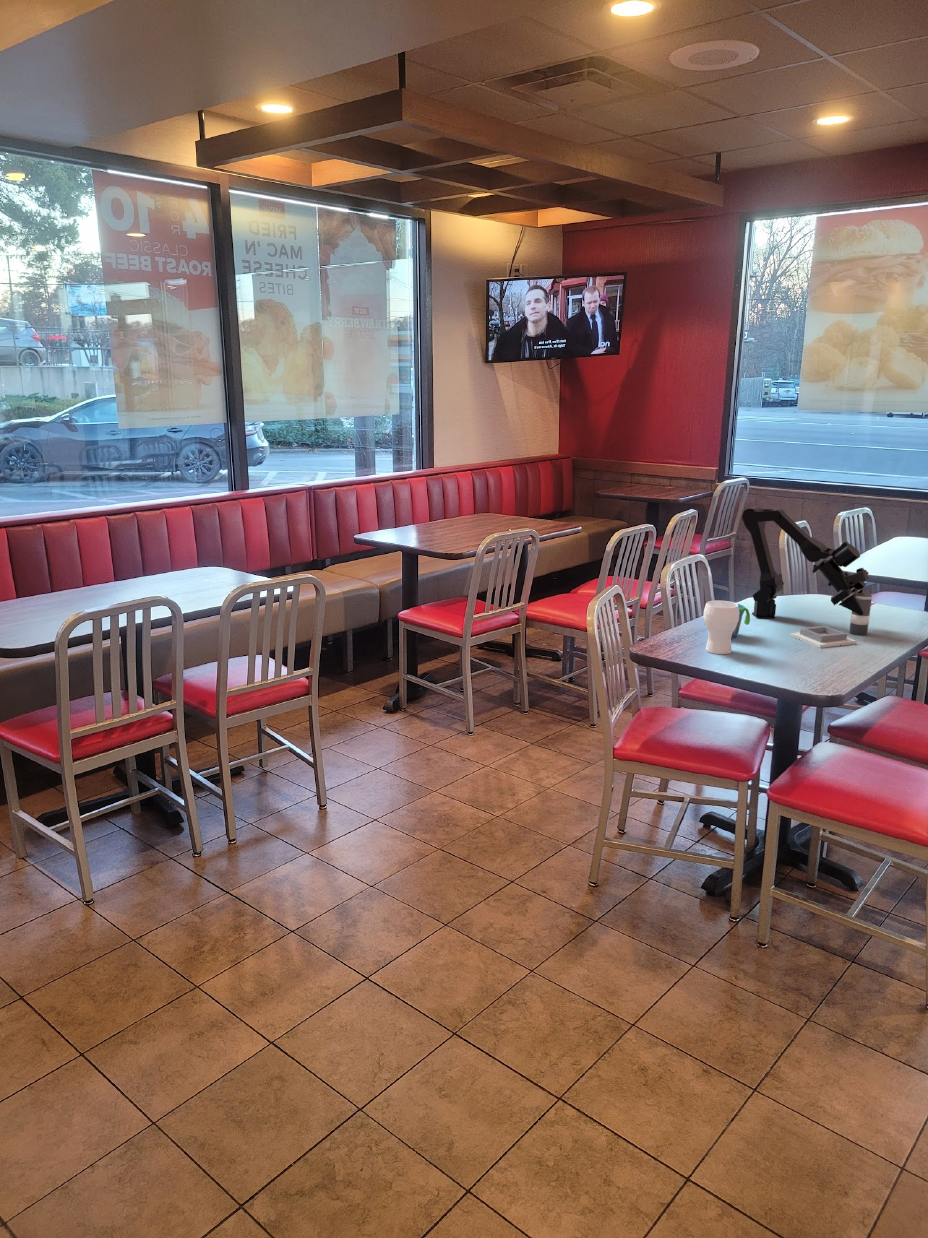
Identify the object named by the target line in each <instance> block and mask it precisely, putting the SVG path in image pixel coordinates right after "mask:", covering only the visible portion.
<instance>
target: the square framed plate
mask: <svg viewBox="0 0 928 1238" xmlns="http://www.w3.org/2000/svg"><path fill="white" fill-rule="evenodd" d="M799 629H800V630H799V631H798V632H790V637H791V638H794V637H795V638H794V639H796V638H797V640H799V639H800V641H802V642H804V643H806V642H807V643H806V644H808V645H812V646H813V647H817V648H818V647H819V649H822V648H830V647H839V646H840V645H841V646H848V645H849V646H850V645H856V644H857V640H855V639H853V638H849V637H847V636H848V633H846V632H843V631H841V630H839V629H836V628H832V627H830V626H827V625H817V626H812V627H811V626H809V627H802V628H799Z"/></svg>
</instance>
